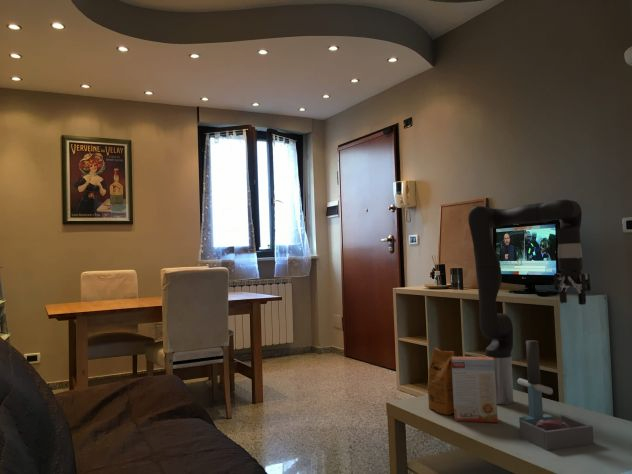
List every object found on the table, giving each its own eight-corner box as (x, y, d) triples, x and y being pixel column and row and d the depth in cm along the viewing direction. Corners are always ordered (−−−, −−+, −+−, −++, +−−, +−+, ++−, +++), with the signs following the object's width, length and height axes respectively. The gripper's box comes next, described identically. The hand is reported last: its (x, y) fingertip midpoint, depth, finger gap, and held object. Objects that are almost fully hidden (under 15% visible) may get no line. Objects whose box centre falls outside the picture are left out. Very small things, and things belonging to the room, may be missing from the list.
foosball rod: (508, 424, 161) (504, 339, 163) (535, 421, 164) (530, 337, 165) (538, 439, 148) (533, 345, 149) (566, 435, 150) (561, 343, 152)
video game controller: (536, 441, 151) (534, 424, 149) (536, 430, 155) (534, 413, 153) (572, 446, 147) (571, 428, 144) (572, 435, 150) (571, 417, 148)
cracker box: (496, 418, 170) (493, 356, 171) (498, 423, 164) (495, 359, 166) (454, 415, 174) (451, 355, 175) (454, 421, 168) (451, 358, 169)
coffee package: (446, 404, 188) (443, 345, 190) (467, 413, 177) (465, 350, 178) (424, 407, 185) (421, 347, 186) (444, 416, 173) (442, 353, 174)
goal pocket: (520, 437, 151) (519, 420, 151) (564, 431, 155) (563, 414, 155) (547, 450, 140) (546, 432, 140) (593, 443, 144) (592, 426, 144)
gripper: (546, 257, 179) (549, 302, 178) (576, 256, 166) (579, 305, 165) (564, 257, 181) (566, 301, 180) (595, 256, 168) (598, 304, 167)
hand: (572, 303), depth 173 cm, fingers open, 8 cm apart
